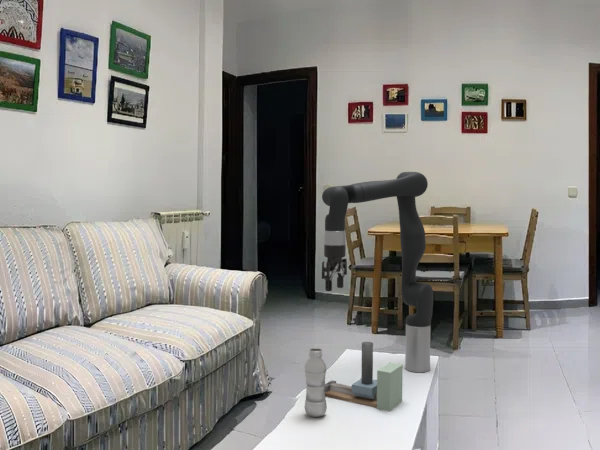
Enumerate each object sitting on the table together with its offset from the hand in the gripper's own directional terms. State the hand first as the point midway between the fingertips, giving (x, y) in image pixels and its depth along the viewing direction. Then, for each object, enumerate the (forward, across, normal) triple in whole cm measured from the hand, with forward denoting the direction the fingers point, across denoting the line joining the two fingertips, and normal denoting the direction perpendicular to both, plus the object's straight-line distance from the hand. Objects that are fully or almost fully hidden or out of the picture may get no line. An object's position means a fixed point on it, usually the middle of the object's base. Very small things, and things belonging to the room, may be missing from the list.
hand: (334, 289), depth 197 cm
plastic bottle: (+33, -30, -10) cm, 46 cm away
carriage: (+31, -10, -18) cm, 37 cm away
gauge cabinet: (+33, -10, -26) cm, 43 cm away
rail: (+33, -10, -13) cm, 37 cm away
